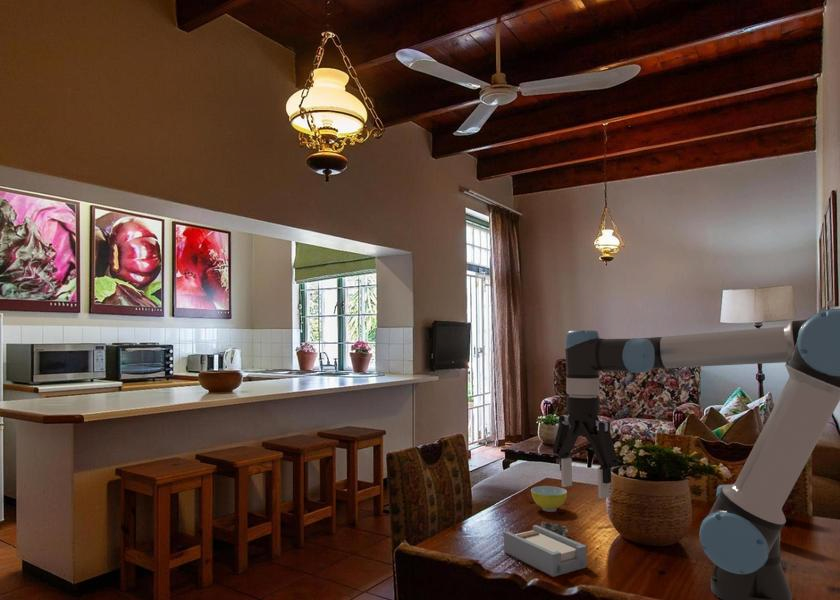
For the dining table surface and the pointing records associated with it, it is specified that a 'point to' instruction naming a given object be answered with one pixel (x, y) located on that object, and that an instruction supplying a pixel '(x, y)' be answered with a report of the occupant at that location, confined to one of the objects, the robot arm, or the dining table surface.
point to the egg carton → (555, 528)
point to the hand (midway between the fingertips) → (584, 491)
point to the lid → (549, 544)
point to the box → (545, 553)
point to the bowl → (549, 497)
